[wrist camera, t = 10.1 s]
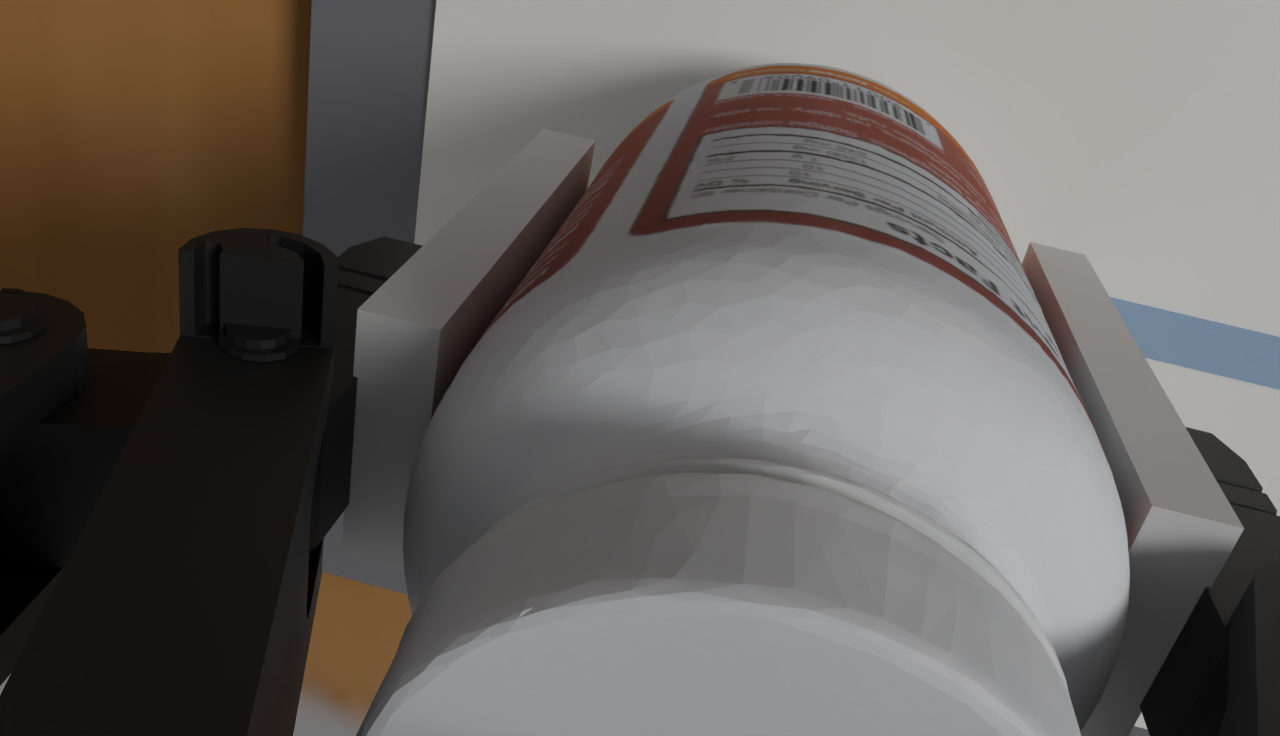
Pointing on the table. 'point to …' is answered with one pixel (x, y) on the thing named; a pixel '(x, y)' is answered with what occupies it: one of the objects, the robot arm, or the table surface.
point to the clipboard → (907, 62)
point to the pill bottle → (764, 453)
